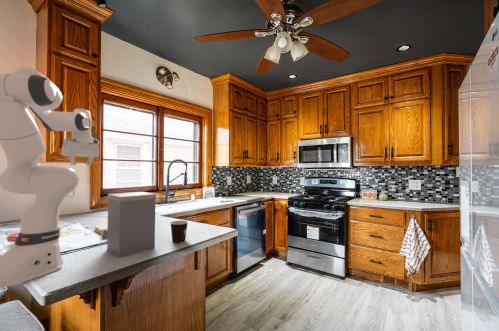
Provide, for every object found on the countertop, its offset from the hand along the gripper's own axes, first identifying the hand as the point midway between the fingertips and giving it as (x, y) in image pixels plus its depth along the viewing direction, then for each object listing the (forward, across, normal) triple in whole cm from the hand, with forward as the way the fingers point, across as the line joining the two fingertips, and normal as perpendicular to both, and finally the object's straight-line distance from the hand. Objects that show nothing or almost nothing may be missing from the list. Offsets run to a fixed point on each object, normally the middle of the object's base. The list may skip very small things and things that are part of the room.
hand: (81, 165), depth 130 cm
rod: (+39, +10, -6) cm, 41 cm away
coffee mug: (+39, +5, -54) cm, 67 cm away
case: (+39, -9, -38) cm, 55 cm away
